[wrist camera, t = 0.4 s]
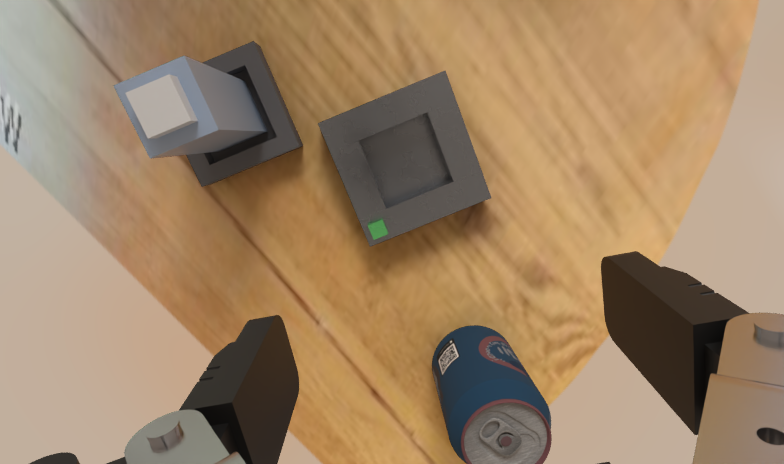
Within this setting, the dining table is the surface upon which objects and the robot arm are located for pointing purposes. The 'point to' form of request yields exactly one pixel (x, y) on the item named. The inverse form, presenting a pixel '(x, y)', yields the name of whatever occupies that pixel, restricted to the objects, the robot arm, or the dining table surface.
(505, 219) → the dining table surface
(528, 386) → the soda can
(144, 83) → the plug
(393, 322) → the dining table surface
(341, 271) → the dining table surface
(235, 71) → the holster
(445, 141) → the port
